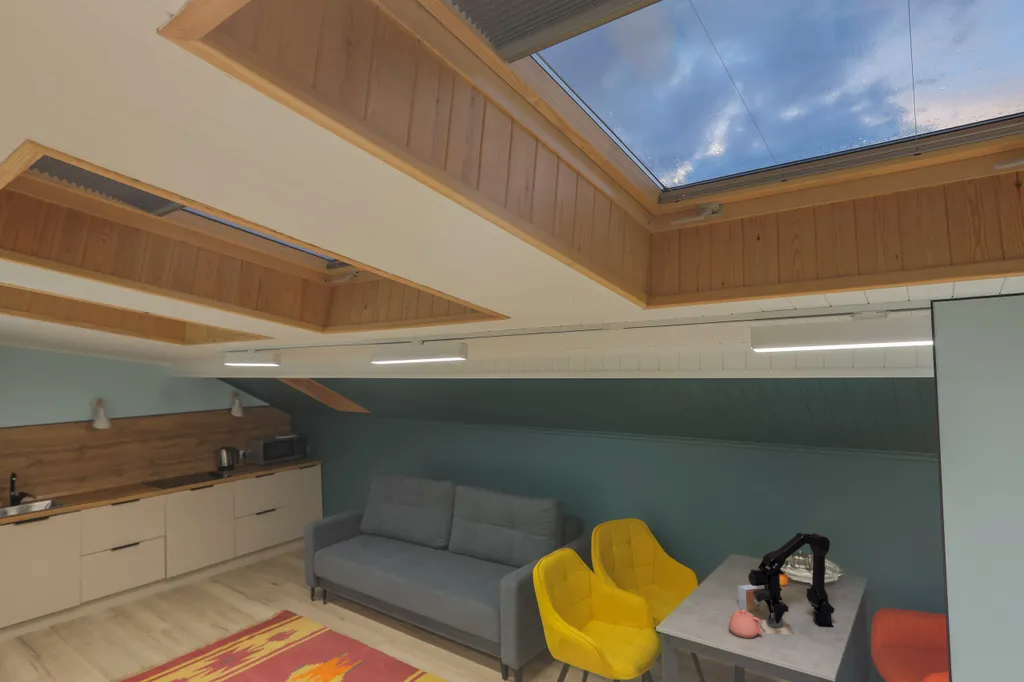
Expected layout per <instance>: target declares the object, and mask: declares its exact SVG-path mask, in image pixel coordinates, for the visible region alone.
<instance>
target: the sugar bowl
mask: <svg viewBox="0 0 1024 682" xmlns="http://www.w3.org/2000/svg"><path fill="white" fill-rule="evenodd" d="M760 619H761V618H759V617H755V616H754V615H753V614H752V613H751V612H750V611H749V612H747V611H746V610H743V609H741V608H740V610H736V611H734V612H733V613H732V615H730V618H729V621H728V629H729V630H730V631H731V633H733V635H734V636H737V637H740V638H746V639H749V640H750V639H751V638H754V637H757V635H758V634H759V635H762V634H763V633H764V631H763V629H762V628H761V627H760V626H761V621H760ZM757 620H758V621H759V624H758V623H757Z"/></svg>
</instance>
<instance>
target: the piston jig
mask: <svg viewBox="0 0 1024 682" xmlns="http://www.w3.org/2000/svg"><path fill="white" fill-rule="evenodd" d="M759 619H760V621H761V626H760V629H762V630H763V633H765V634H769V635H770V634H773V635H792V636H793V635H795V632H794V630H793V629H792V628H791V627H790V626H789V625H788V623H787V622H786V621H785V620H784V619H783V626H782V627H780V628H779V627H772V626H769V625H768V624H767V623H766V619H761V618H759ZM771 619H775V615H774V613H771ZM756 622H757V624H758V625H759V621H758V620H756Z"/></svg>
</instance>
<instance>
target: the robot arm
mask: <svg viewBox="0 0 1024 682" xmlns="http://www.w3.org/2000/svg"><path fill="white" fill-rule="evenodd" d="M806 544H807V545H809V547H810V550H811V553H812V581H811V583H812V584H811V586H810V588H806V598H807V601H808V602H809V604H810V605H811V607H812V608H813V611H812V618H813V619H812V621H813V623H814V624H816V625H817V626H818V627H823V628H824V627H826V628H827V627H828V628H829V627H830V628H833V627H834V625H833V621H832V619H833V617H832V614H834V612H835V608H834V607H833V606H832V604H830V603H829V601H830V600H829V596H828V593H827V591H826V589H825V587H826V586H825V580H826V579H825V578H826V577H825V576H826V556H827V554H828V553H829V551H830V547H831V542H830V539H829V538H828V537H827V536H824V535H821V534H819V533H817V532H815V533H806V532H805V533H803V532H797V533H796V535H795V536H793V537H792V538H791V539H789V540H788V541H787V542H786V543H785V544H783V545H781V547H779V549H776V550H772V551H770V552H768V553H766V554H764V556H763V557H762V560H761V562H760V563H759V565H758V566H757V569H754V568H753V569H750V572H748V583H749V585H750V584H751V585H752V586H756V587H759V586H764V587H763V588H759V590H756V591H753V594H754V597H755V599H756V600H757V602H760V603H761V602H765V603H766V606H767V609H768V613H769V614H771V613H774V615H775V620H776V623H777V624H779V622H780V620H781V618H783V616H784V614H785V613H788V612H789V606H788V605H787V604H786V603H785V602H784V601H783V597H782V596H781V595H782V594H781V592H782V591H783V589H782V588H781V577H780V576H782V575H785V572H783V570H782V568H783V567H784V565H785V563H786V561H787V559H789V558H790V557H791V556H792V555H793V554H795V553H796V552H797V551H798V550H800V549H801V548H802V547H804V546H805V545H806Z"/></svg>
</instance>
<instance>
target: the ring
mask: <svg viewBox="0 0 1024 682" xmlns="http://www.w3.org/2000/svg"><path fill="white" fill-rule="evenodd" d="M765 620H766V623H767V624H768V625H769V626H772V627H779V628H780V627H782V626H783V620H784V618H783V617H782V618H781V620H780V622H779V624H777V623H776V620H775V619H771V614H770V613H769V614H766V616H765Z"/></svg>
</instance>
